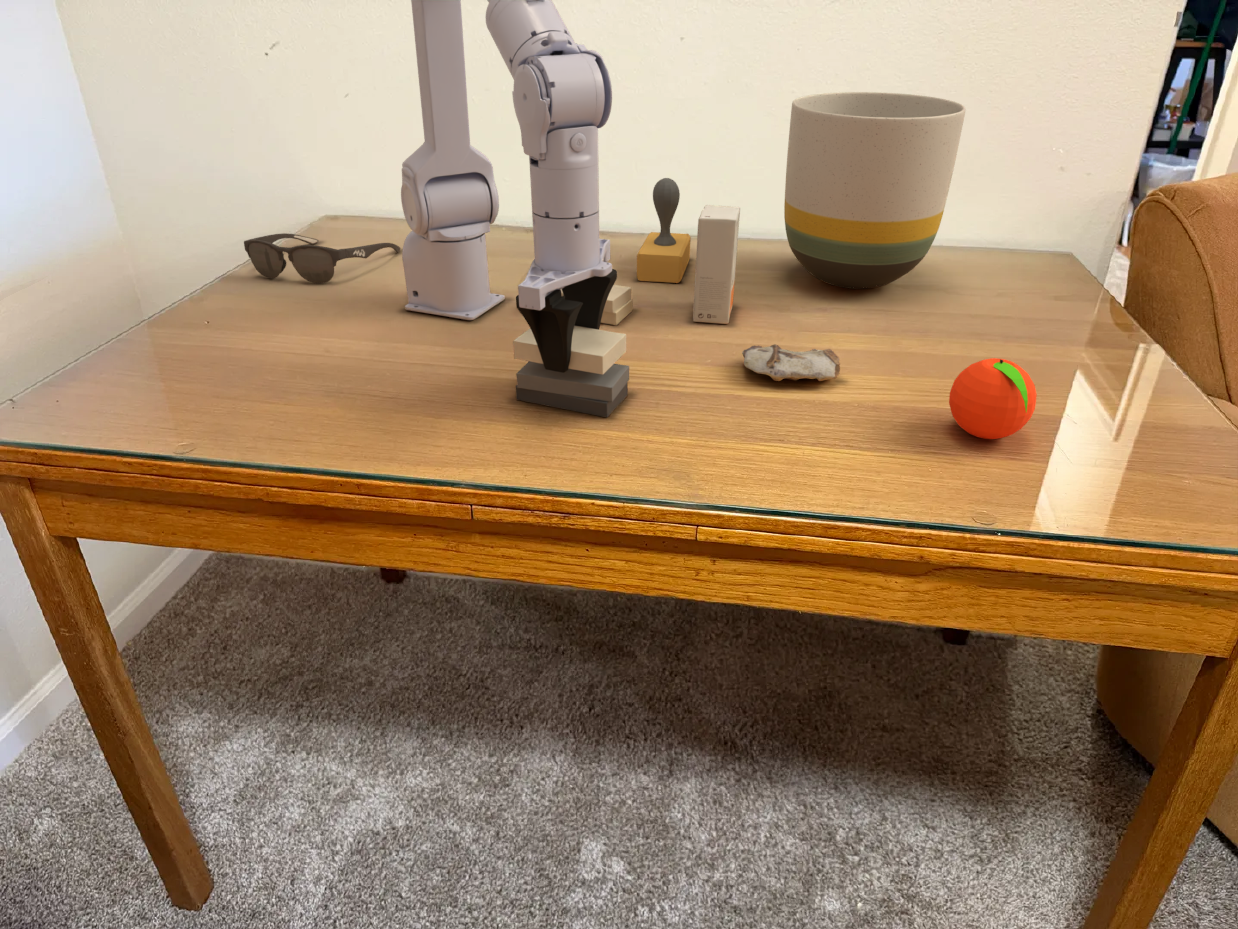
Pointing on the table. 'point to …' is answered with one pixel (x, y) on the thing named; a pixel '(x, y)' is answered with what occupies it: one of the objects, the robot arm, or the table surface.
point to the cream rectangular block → (579, 349)
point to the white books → (617, 305)
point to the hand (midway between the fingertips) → (570, 357)
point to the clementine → (992, 398)
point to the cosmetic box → (715, 263)
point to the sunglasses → (303, 256)
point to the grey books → (573, 388)
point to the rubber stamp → (664, 240)
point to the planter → (867, 182)
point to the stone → (792, 363)
